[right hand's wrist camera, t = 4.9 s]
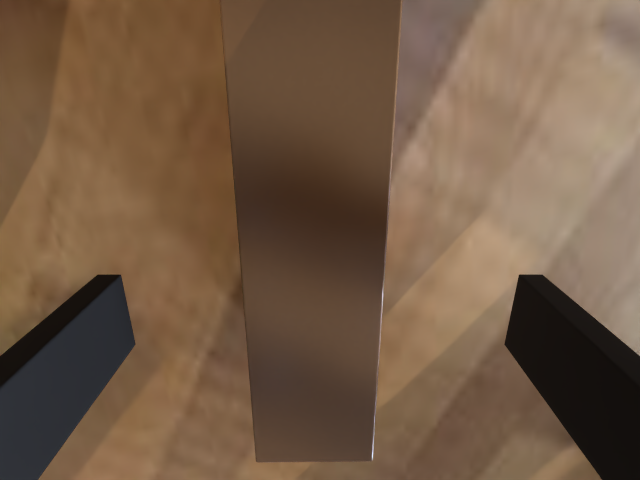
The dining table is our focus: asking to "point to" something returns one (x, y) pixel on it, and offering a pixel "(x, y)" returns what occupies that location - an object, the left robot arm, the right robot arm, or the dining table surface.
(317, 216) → the board
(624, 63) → the dining table surface
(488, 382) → the dining table surface
